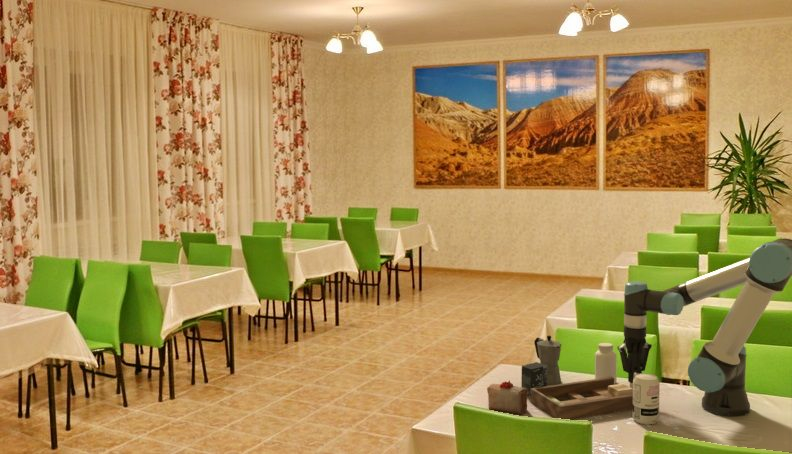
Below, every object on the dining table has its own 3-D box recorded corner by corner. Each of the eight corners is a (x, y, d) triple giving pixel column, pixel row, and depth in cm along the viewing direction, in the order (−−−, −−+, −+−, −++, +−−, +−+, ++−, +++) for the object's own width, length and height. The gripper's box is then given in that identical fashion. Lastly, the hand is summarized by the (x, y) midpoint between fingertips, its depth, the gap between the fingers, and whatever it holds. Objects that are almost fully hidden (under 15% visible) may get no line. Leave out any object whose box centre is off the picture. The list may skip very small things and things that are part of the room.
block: (632, 399, 257) (632, 388, 257) (618, 402, 255) (618, 390, 255) (622, 394, 263) (622, 383, 262) (607, 396, 261) (607, 385, 260)
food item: (484, 410, 256) (484, 382, 255) (493, 402, 263) (493, 376, 262) (521, 416, 249) (521, 388, 248) (529, 409, 256) (529, 381, 255)
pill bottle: (590, 380, 285) (591, 342, 283) (608, 378, 287) (609, 340, 286) (602, 386, 277) (602, 348, 276) (620, 384, 280) (621, 345, 278)
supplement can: (638, 414, 249) (638, 371, 247) (662, 419, 243) (663, 375, 242) (628, 421, 242) (629, 377, 241) (653, 427, 237) (654, 382, 236)
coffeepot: (569, 383, 282) (569, 337, 280) (549, 387, 278) (550, 341, 276) (544, 373, 295) (544, 329, 293) (525, 376, 291) (525, 332, 289)
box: (531, 397, 268) (531, 369, 267) (521, 393, 272) (520, 365, 271) (547, 392, 272) (547, 365, 271) (536, 388, 277) (536, 361, 276)
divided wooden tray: (646, 407, 255) (646, 393, 254) (560, 421, 244) (560, 406, 243) (611, 389, 274) (611, 376, 273) (530, 402, 263) (530, 388, 262)
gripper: (643, 321, 264) (642, 385, 266) (612, 325, 260) (611, 389, 262) (657, 326, 257) (656, 391, 259) (625, 330, 252) (624, 396, 255)
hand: (633, 390), depth 261 cm, fingers closed
